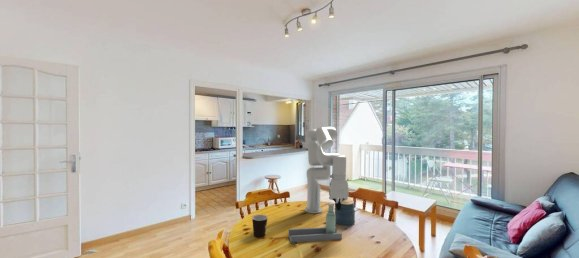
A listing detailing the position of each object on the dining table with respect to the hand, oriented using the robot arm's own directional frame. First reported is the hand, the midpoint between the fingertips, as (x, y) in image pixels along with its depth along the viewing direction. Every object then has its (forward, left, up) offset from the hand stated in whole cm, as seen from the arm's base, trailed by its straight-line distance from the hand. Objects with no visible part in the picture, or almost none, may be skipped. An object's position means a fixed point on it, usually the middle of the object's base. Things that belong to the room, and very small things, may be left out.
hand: (338, 209), depth 133 cm
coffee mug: (-9, -42, -16) cm, 46 cm away
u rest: (0, -13, -16) cm, 20 cm away
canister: (-18, +12, -16) cm, 27 cm away
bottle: (0, -4, -15) cm, 15 cm away
